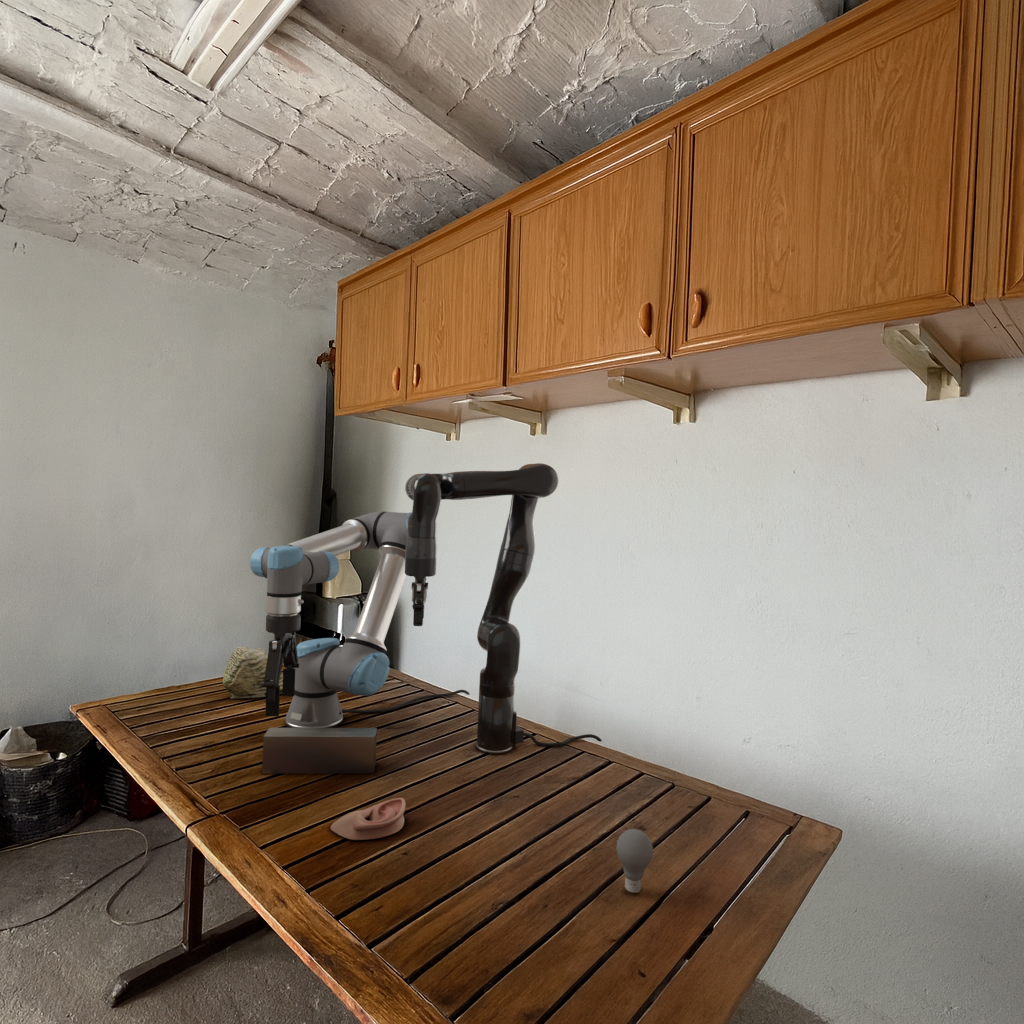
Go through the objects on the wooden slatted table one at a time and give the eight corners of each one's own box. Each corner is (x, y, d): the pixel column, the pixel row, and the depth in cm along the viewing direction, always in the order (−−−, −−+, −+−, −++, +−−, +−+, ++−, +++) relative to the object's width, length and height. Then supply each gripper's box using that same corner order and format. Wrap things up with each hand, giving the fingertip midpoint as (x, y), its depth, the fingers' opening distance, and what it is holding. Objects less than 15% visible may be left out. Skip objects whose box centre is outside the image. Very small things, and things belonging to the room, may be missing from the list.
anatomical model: (323, 814, 118) (350, 787, 130) (322, 835, 118) (350, 806, 130) (389, 824, 116) (412, 796, 127) (389, 846, 116) (411, 816, 127)
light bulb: (610, 879, 108) (613, 822, 108) (644, 879, 109) (647, 822, 109) (619, 902, 102) (622, 840, 102) (655, 901, 103) (658, 840, 103)
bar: (262, 773, 143) (263, 736, 143) (268, 764, 149) (269, 727, 148) (373, 773, 146) (374, 736, 146) (375, 763, 151) (377, 728, 151)
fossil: (218, 695, 195) (220, 647, 195) (278, 685, 208) (279, 640, 207) (228, 703, 189) (230, 653, 188) (289, 692, 201) (290, 645, 201)
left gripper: (286, 625, 133) (282, 725, 134) (312, 604, 158) (309, 688, 159) (249, 624, 133) (246, 724, 133) (281, 603, 157) (278, 688, 158)
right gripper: (436, 559, 147) (433, 628, 147) (436, 553, 161) (434, 617, 161) (403, 558, 146) (401, 628, 146) (406, 552, 160) (404, 616, 160)
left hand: (280, 705), depth 146 cm, fingers open, 13 cm apart
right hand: (418, 622), depth 154 cm, fingers open, 8 cm apart
